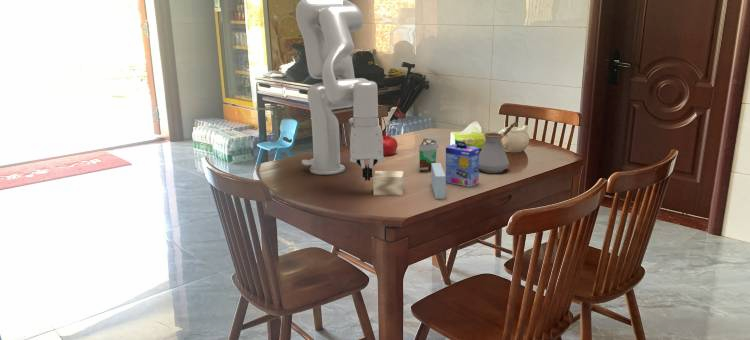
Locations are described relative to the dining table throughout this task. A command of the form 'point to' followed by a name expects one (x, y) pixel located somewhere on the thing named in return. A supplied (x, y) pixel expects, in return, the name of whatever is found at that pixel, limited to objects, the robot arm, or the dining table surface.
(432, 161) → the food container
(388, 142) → the pomegranate
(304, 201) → the dining table surface
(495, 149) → the coffee pot
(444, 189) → the board
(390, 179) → the block
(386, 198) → the dining table surface
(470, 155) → the ink cartridge box
